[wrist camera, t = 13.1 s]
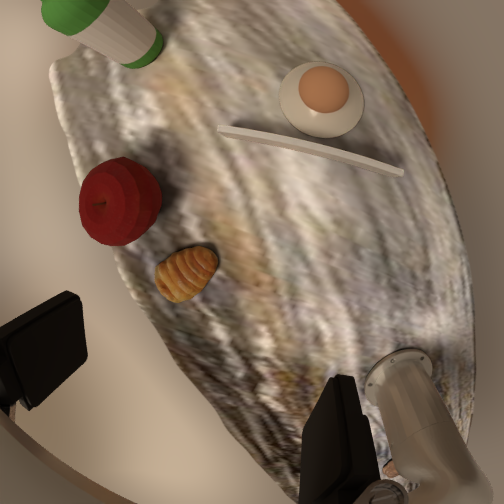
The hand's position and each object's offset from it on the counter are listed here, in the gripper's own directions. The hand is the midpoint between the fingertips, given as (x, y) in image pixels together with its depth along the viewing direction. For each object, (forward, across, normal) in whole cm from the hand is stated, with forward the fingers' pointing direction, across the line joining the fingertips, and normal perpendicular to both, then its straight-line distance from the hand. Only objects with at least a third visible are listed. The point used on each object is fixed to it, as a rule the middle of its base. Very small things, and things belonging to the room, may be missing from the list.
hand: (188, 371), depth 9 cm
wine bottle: (+28, +25, -25) cm, 45 cm away
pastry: (+29, +10, +8) cm, 32 cm away
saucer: (+28, -3, -19) cm, 34 cm away
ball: (+25, -3, -19) cm, 31 cm away
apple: (+28, +18, -1) cm, 34 cm away
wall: (+28, -3, -12) cm, 31 cm away
